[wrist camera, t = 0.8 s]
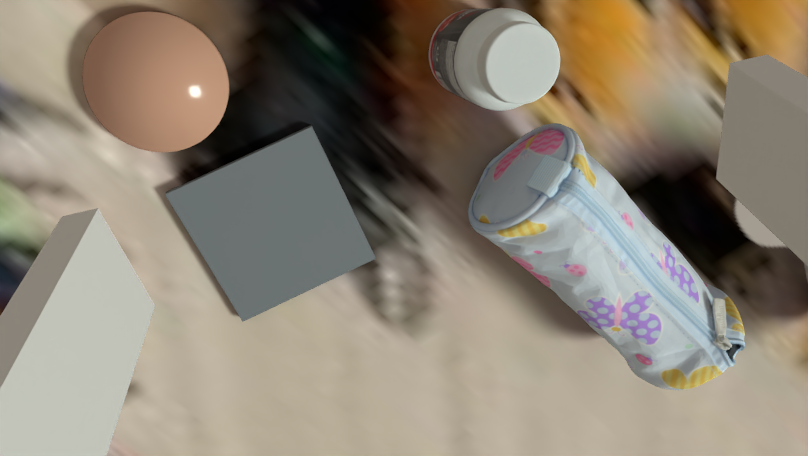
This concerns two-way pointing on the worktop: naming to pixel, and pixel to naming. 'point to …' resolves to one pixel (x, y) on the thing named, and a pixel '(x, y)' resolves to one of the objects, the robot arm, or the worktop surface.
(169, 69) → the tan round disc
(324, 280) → the slate mat
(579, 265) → the pencil case
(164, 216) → the worktop surface
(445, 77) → the pill bottle
